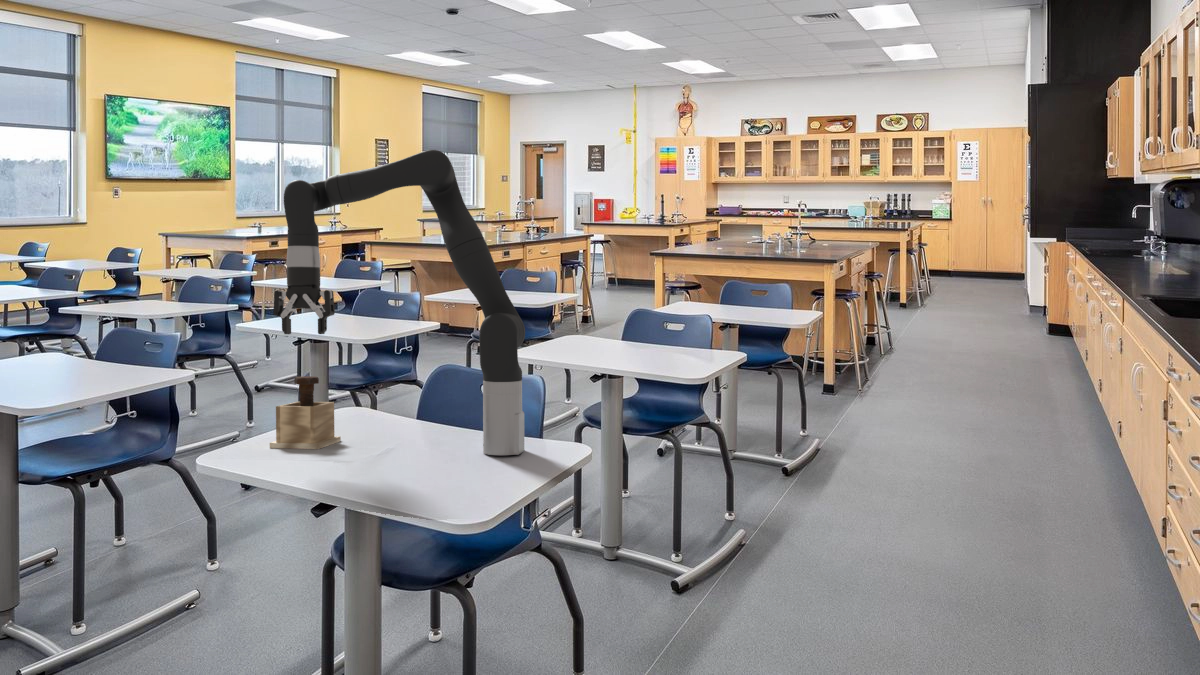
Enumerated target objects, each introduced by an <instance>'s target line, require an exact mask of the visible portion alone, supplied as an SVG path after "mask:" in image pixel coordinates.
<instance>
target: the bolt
mask: <svg viewBox="0 0 1200 675" xmlns="http://www.w3.org/2000/svg"><path fill="white" fill-rule="evenodd" d="M293 380H294V382H293V383H294V385H295V384H296V385H298V390H299V402H300V405H301V406H313V404H314V402H315V401H314V398H315V395H314V391H315V385H318V384H320V381H319V380H320V379H319V376H313V375H311V376H309V375H308V376H306V375H305V376H296V377H294V379H293Z"/></svg>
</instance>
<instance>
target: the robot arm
mask: <svg viewBox="0 0 1200 675" xmlns="http://www.w3.org/2000/svg"><path fill="white" fill-rule="evenodd" d="M415 186H416V187H418V186H420V188H421V189H422V190H423V193H424V194H425V195H426V197H427V199H428V200H429V203H430V205H431V206H432V209H433V210H434V212H435V214H436V216H437V219H438V222H439V225H440V226H439V227H440V232H441V235H442V238H443V242H444V244H445V247H446V250H447V253H448V255H449V257H450V260H451V262H452V265H453V267H454V270H456V273H457V275H458V276H459V278H460V279H461V280H462V281H463V283H464V284H465V286H466V287H467V288H468V290H469V291H470V292H471V293H472V294H473V296H474V297H475V300H476V301H477V302H478V304H479V306H480V309H481V312H482V313H483V317H484V319H483V321H482V322H481V325H480V328H479V333H478V334H479V335H478V337H479V342H478V346H479V363H480V369H481V373H482V386H483V387H482V425H483V426H482V432H483V433H482V436H483V438H482V439H483V440H482V441H483V442H482V448H483V452H482V453H483V455H484V454H485V455H489V456H513V455H517V456H518V455H520V454H522V453H523V452H525V411H523V370H522V367H521V366H520V364H519V357H518V356H519V355H518V352H519V351H518V348H520V347H521V346H522V344H524V340H525V338H526V327H525V323H524V322H523V320H522V318H521V316H520V315H519V313H518V311H517V310H516V308H515V306H514V304H513V302H512V300H511V299H510V297H509V295H508V293H507V291H506V289H505V286H504V284H503V282H502V279H501V276H500V273H499V271H498V268H497V266H496V264H495V261H494V259H493V256H492V253H491V251H490V249H489V247H488V244H487V242H486V239H485V238H484V235H483V233H482V231H481V229H480V228H479V225H478V223H477V222H476V221H475V218H473V215H472V214H471V212H470V211H469V209H468V208H467V206H466V204H465V201H464V199H463V195H462V194H461V191H460V187H459V183H458V180H457V176H456V172H455V170H454V167H453V165H452V162H451V160H450V158H449V157H448V155H446V154H445V153H444V152H443V151H441V150H439V149H428V150H424V151H421V152H418V153H416V154H413V155H409V156H407V157H404V158H403V159H399V160H396V161H395V160H394V161H393V162H389V163H386V164H381V165H378V166H375V167H369V168H365V169H360V170H354V171H349V172H344V173H338V174H333V175H331V176H328V177H327V178H326V179H323V180H319V181H314V182H307V181H306V180H302V179H295V180H292V181H290V182H289V183H288V184H287V185H286V187H285V189H284V190H283V192H284V193H283V206H284V216H285V219H286V224H287V251H286V252H287V253H286V261H285V262H286V264H285V265H286V285H287V290H286V291H284V290H275V291H274V294H273V312H272V313H273V315H274V316H275V317H279V318H281V331H282V333H283V334H284V335H292V319H291V316H292V314H293V313H294V312H295V311H297V309H298V310H299V309H301V310H303V309H311V310H312V311H313V312H314V313H315V314H316V315H317V317H318V318H317V333H318V335H325V333H326V332H327V328H328V324H327V323H328V318H329V317H332V316H335V298H334V291H333V290H331V289H330V290H329V289H326V290H321V256H320V255H321V254H320V248H319V247H320V242H319V238H320V237H319V236H320V235H319V233H320V232H319V227H318V225H317V223H316V221H315V212H318V211H323V210H325V209H328V208H331V207H334V206H338V205H347V204H350V203H355V202H356V203H357V202H362V201H364V200H368V199H371V198H375V197H376V196H379V195H381V194H384V193H386V192H388V191H392V190H395V189H400V188H404V187H415ZM286 298H287V299H288V300H289V301H288V302H287V303H286V305H285V304H284V303H285V302H284V301H285V300H286ZM321 298H322V299H323V301H324V307H323V305H322V304H321V303H320V299H321ZM284 305H285V306H284Z"/></svg>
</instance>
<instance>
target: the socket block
mask: <svg viewBox="0 0 1200 675" xmlns="http://www.w3.org/2000/svg"><path fill="white" fill-rule="evenodd" d="M313 402H314V404H313V406H301V405H300V401H294V402H291V403H285V404H281V405H275V440H274V441H271V442H269V449H298V450H299V449H300V450H301V449H302V450H320V449H322V448H325V447H326V448H327V447H328V446H332V445H334V444H337V443H339V442H341V441H340V440H342V438H341V436H336V435H335V402H334V401H313Z"/></svg>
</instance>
